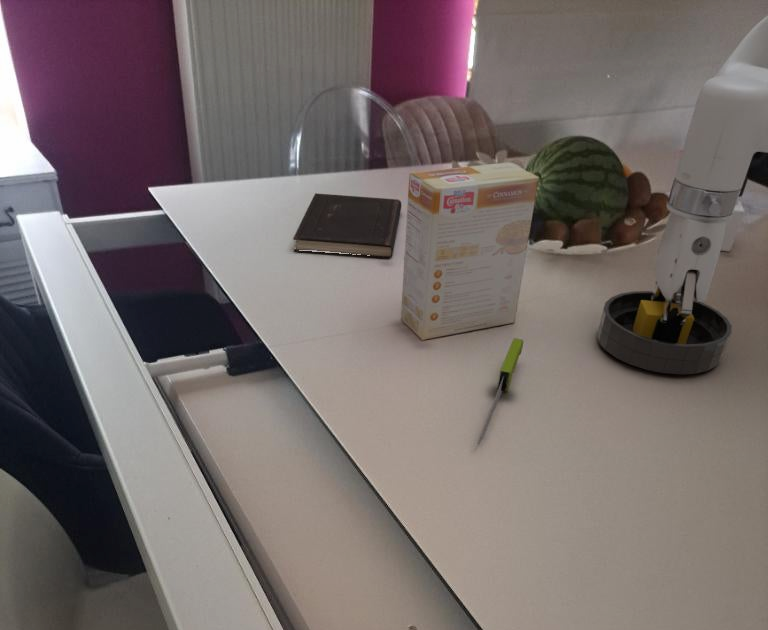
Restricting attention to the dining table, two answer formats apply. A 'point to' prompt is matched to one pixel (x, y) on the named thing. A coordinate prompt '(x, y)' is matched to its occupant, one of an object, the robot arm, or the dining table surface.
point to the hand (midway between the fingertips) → (658, 339)
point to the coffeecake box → (465, 247)
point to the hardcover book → (349, 226)
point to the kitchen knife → (504, 377)
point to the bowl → (657, 355)
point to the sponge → (653, 312)
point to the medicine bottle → (733, 223)
